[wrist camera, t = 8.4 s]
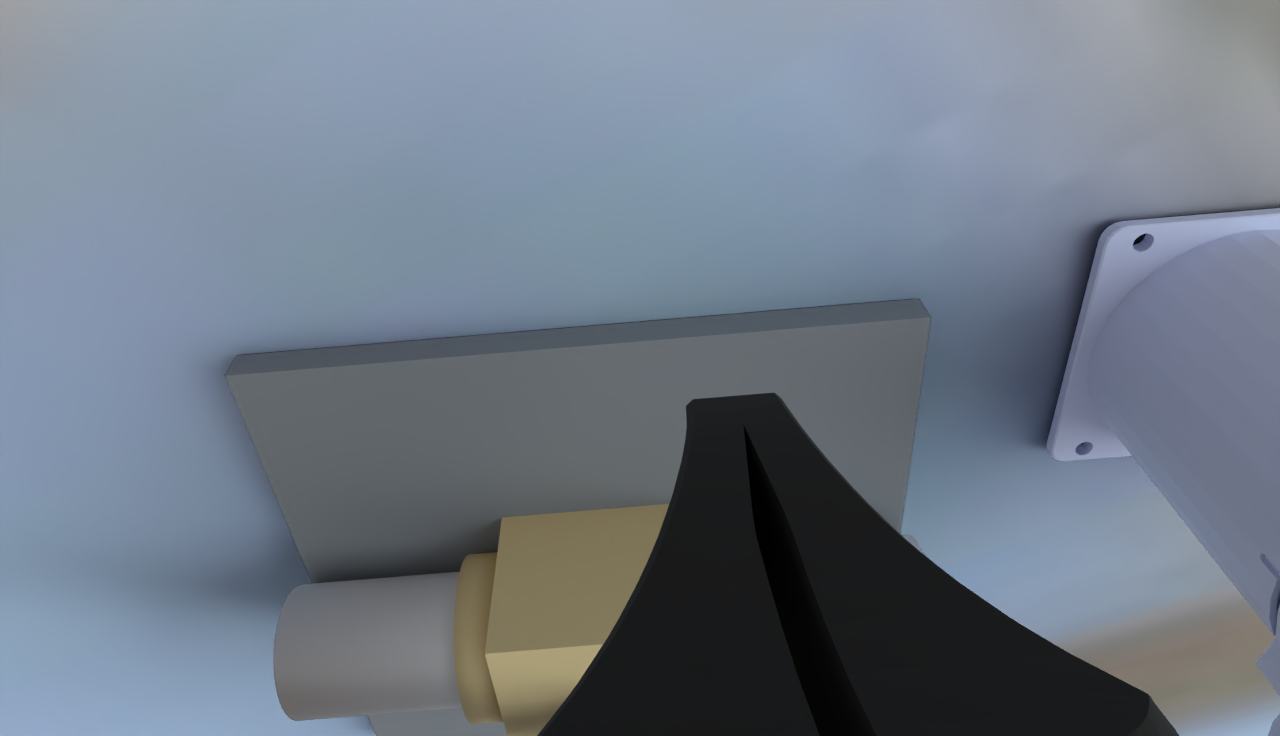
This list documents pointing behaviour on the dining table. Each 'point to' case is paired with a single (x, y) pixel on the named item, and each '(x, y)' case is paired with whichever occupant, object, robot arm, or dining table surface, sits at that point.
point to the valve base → (527, 491)
